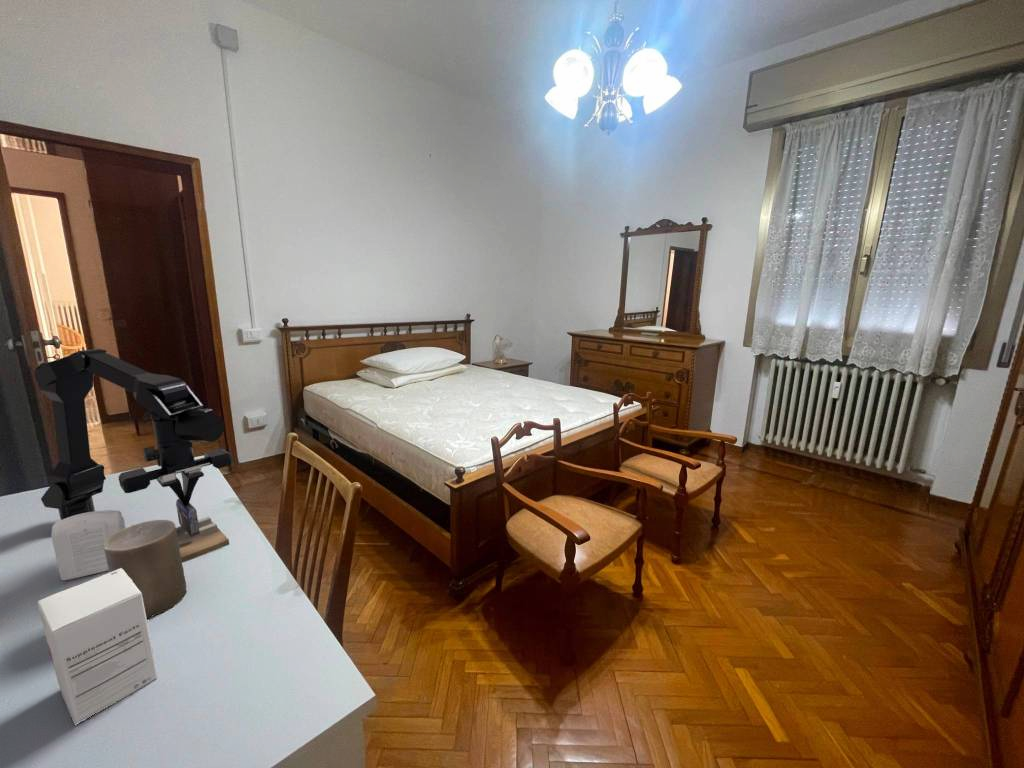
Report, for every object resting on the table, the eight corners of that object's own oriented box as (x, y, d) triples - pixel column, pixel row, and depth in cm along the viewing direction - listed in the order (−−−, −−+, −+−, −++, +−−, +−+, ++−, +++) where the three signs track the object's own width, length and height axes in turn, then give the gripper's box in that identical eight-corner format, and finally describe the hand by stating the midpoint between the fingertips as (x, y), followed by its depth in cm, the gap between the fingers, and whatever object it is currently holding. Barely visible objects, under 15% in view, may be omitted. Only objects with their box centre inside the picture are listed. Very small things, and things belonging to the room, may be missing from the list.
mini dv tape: (179, 523, 95) (175, 499, 94) (187, 520, 97) (183, 497, 95) (191, 537, 91) (187, 512, 89) (199, 534, 92) (196, 509, 90)
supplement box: (58, 690, 59) (34, 599, 56) (139, 647, 66) (122, 565, 63) (73, 729, 54) (48, 632, 51) (159, 678, 61) (142, 590, 58)
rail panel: (144, 543, 92) (142, 532, 92) (208, 521, 102) (207, 511, 101) (161, 570, 84) (158, 558, 83) (229, 544, 93) (227, 533, 92)
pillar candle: (199, 590, 79) (187, 518, 76) (140, 628, 70) (124, 548, 67) (164, 578, 82) (152, 508, 79) (103, 613, 73) (86, 536, 70)
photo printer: (133, 555, 88) (123, 502, 86) (129, 566, 85) (118, 511, 82) (64, 572, 83) (51, 515, 80) (57, 584, 79) (43, 526, 77)
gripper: (212, 420, 101) (221, 480, 104) (106, 441, 87) (121, 509, 90) (228, 430, 94) (238, 493, 97) (117, 454, 80) (132, 527, 83)
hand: (185, 504), depth 92 cm, fingers closed, pressing on mini dv tape
